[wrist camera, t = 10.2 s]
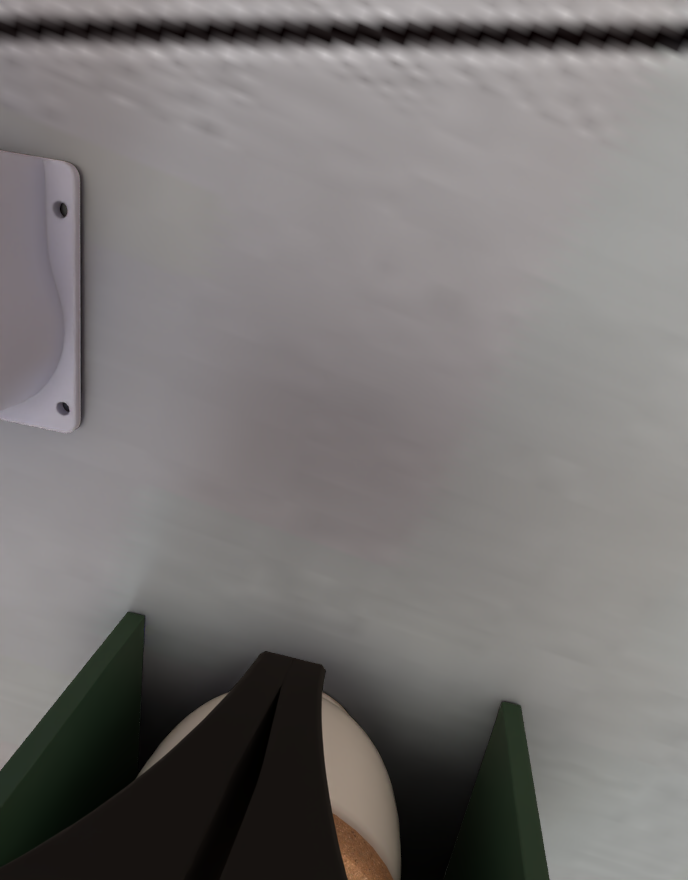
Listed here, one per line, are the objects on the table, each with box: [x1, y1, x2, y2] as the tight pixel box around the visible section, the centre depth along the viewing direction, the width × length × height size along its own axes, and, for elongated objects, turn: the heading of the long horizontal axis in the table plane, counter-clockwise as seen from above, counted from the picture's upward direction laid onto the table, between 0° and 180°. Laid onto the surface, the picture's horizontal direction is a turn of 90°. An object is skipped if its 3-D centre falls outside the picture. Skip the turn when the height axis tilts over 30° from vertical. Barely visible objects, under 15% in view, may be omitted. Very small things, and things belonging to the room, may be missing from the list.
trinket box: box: [136, 692, 401, 880], centre depth 22 cm, size 11×11×9 cm
